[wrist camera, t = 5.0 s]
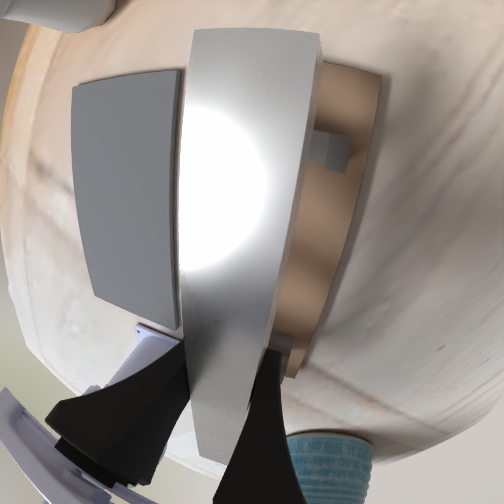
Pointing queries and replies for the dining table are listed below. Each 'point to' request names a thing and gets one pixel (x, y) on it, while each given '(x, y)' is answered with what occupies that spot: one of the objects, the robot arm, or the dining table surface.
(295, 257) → the rack
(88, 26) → the salt shaker
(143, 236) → the mat
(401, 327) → the dining table surface
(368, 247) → the dining table surface
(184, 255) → the rail
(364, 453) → the vase
